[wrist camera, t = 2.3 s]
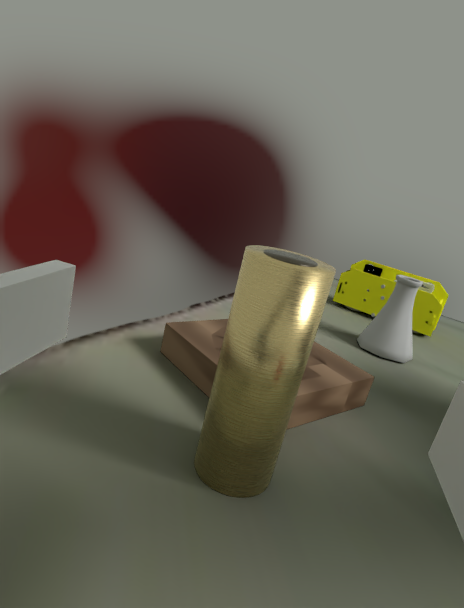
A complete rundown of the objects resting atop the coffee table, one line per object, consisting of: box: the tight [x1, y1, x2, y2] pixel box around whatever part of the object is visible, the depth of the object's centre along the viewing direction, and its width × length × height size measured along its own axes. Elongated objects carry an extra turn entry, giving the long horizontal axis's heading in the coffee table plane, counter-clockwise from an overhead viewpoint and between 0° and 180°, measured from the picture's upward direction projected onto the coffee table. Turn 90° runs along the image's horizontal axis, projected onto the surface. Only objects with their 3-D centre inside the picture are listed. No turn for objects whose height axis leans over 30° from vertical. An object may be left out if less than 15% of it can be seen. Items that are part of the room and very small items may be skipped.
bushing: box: [194, 245, 336, 498], centre depth 25 cm, size 5×5×14 cm
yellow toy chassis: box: [333, 260, 448, 337], centre depth 69 cm, size 16×6×8 cm, turn 57°
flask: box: [357, 275, 423, 363], centre depth 54 cm, size 7×7×10 cm
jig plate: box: [160, 319, 374, 429], centre depth 39 cm, size 14×14×3 cm
